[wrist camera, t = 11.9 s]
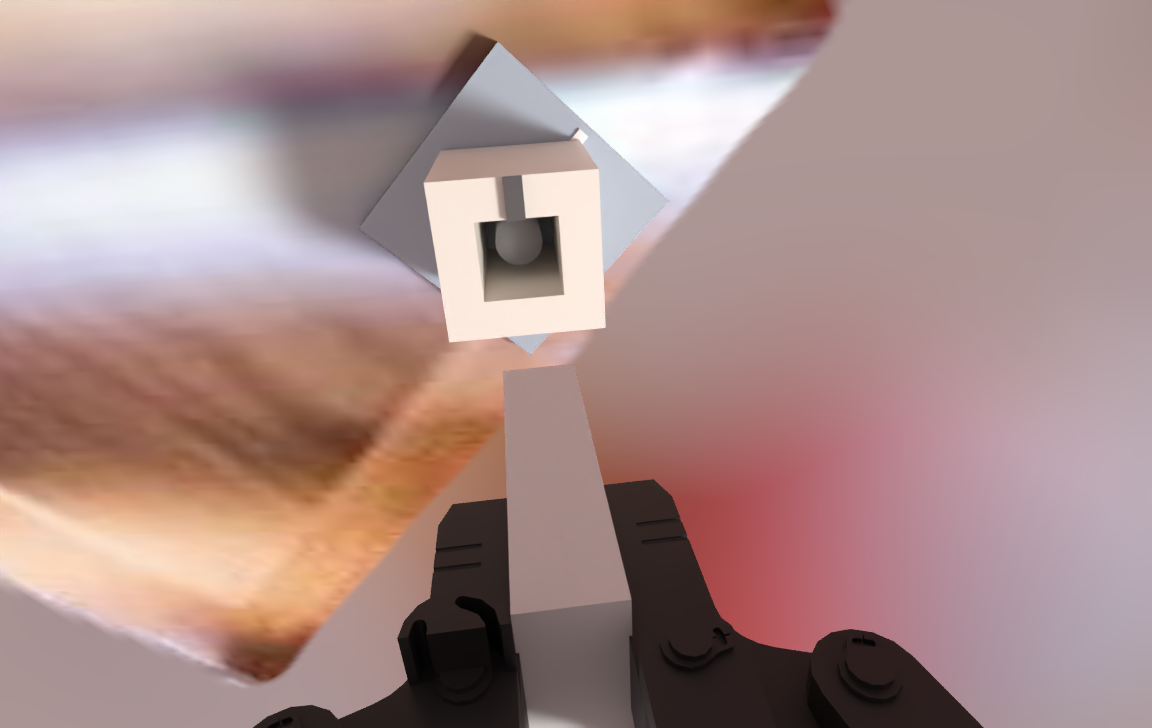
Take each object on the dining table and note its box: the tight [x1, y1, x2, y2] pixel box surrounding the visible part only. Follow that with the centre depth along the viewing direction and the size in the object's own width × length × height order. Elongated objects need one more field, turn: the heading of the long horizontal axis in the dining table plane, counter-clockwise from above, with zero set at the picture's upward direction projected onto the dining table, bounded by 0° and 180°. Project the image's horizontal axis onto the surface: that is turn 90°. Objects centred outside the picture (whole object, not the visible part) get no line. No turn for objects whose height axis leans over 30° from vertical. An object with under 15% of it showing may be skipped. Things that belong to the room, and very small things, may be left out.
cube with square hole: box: [424, 140, 606, 342], centre depth 32 cm, size 7×7×8 cm
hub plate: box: [358, 42, 669, 355], centre depth 34 cm, size 12×12×7 cm
